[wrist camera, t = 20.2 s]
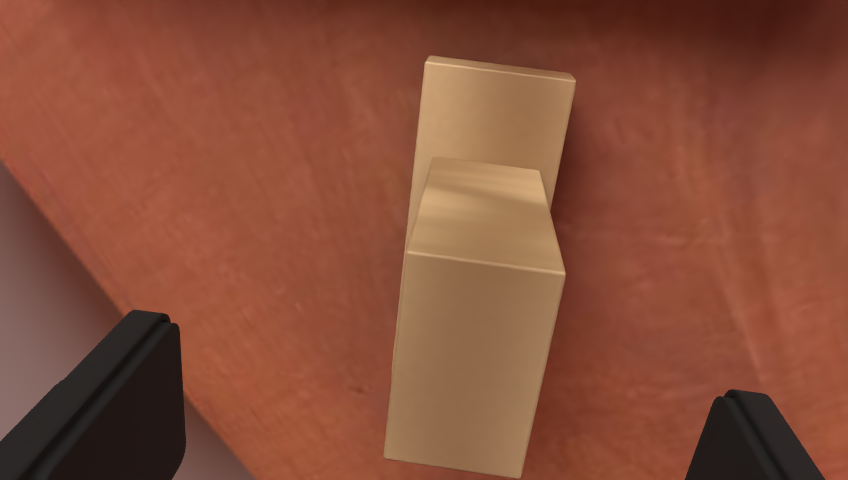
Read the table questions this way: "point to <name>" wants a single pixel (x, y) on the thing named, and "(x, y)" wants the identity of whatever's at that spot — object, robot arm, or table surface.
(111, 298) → the table surface
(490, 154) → the brush
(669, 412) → the table surface
